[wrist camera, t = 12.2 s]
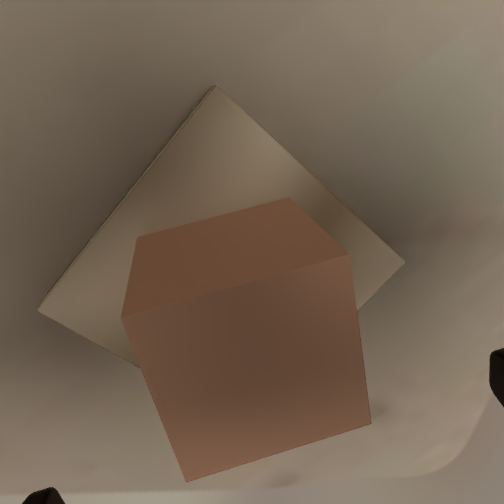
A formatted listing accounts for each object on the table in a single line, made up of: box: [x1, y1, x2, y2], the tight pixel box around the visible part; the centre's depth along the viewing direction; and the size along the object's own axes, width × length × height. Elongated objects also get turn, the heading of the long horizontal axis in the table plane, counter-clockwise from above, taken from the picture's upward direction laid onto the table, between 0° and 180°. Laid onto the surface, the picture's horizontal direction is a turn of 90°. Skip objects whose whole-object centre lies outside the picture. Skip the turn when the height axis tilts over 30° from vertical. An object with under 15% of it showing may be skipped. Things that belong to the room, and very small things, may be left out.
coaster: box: [37, 85, 405, 368], centre depth 15 cm, size 9×9×1 cm
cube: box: [121, 197, 372, 482], centre depth 12 cm, size 5×5×5 cm
